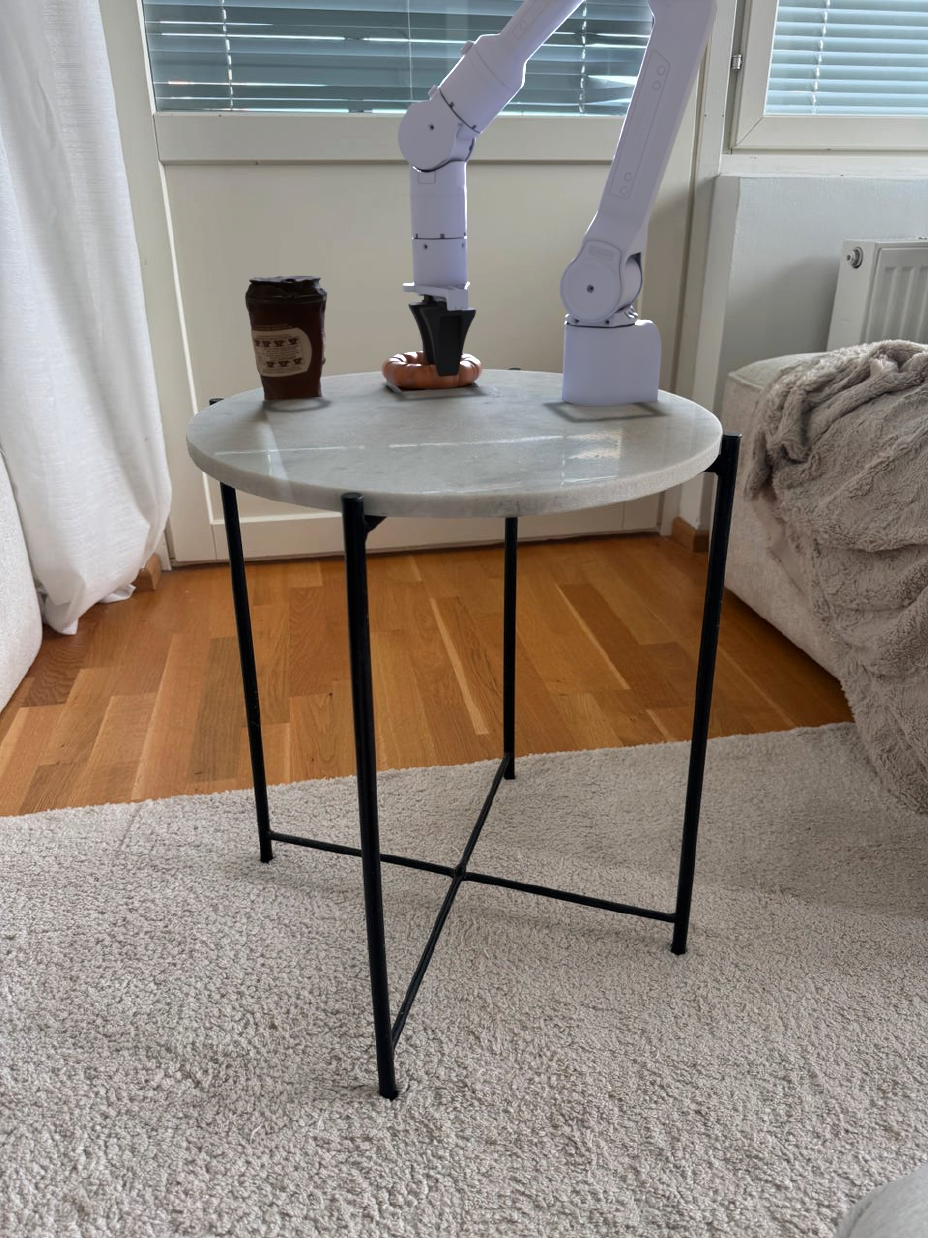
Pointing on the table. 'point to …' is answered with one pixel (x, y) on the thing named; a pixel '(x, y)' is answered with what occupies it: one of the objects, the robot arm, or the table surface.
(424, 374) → the ring
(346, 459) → the table surface
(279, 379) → the coffee cup
